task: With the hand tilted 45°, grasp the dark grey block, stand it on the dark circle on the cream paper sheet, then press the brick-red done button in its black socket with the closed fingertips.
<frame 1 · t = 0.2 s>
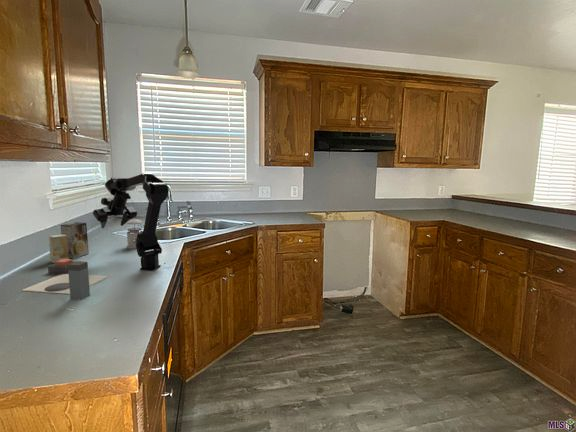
hand: (112, 226, 160), 15 cm above the worktop, tool tilted 35°, fingers open, 9 cm apart
coffee box: (76, 255, 162), on the worktop
button socket: (64, 270, 138), on the worktop
done button: (64, 263, 138), point 3 cm above the worktop, slide at 0.0 cm
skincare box: (60, 261, 152), on the worktop
dark grey block: (80, 297, 112), on the worktop
paper sheet: (67, 283, 124), on the worktop
french press: (136, 246, 183), on the worktop
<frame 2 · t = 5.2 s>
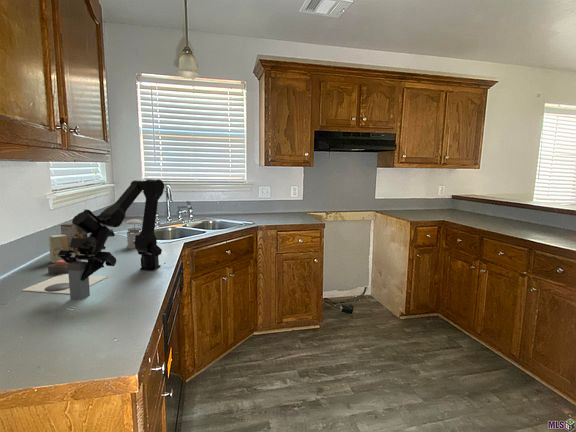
hand: (75, 279, 109), 7 cm above the worktop, tool tilted 45°, fingers closed on dark grey block, 4 cm apart
dark grey block: (80, 297, 112), on the worktop, touching gripper
everything else where it was.
when the fingers open (8 cm above the worktop, at t = 10.4 s): dark grey block stays where it is, resting on paper sheet.
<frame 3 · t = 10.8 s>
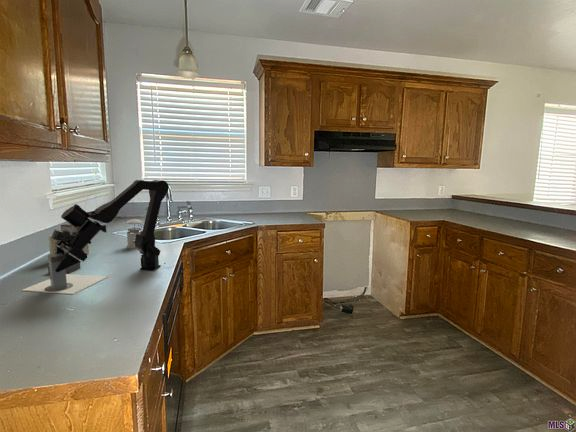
hand: (52, 268, 117), 8 cm above the worktop, tool tilted 45°, fingers open, 8 cm apart
dark grey block: (59, 287, 119), resting on paper sheet
everything else where it was.
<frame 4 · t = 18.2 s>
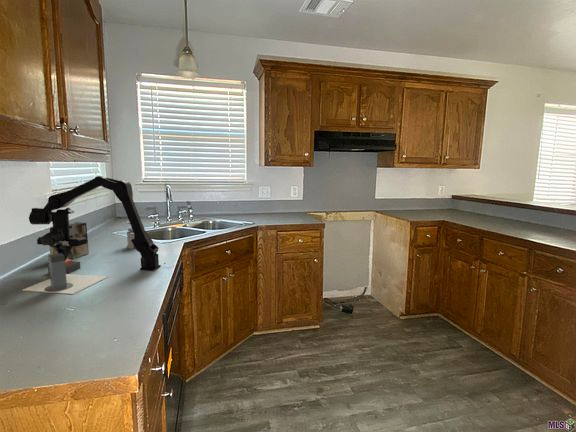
hand: (64, 260, 138), 4 cm above the worktop, tool pointing down, fingers closed, pressing on done button
done button: (64, 263, 138), point 3 cm above the worktop, slide at 0.0 cm, touching gripper
everything else where it was.
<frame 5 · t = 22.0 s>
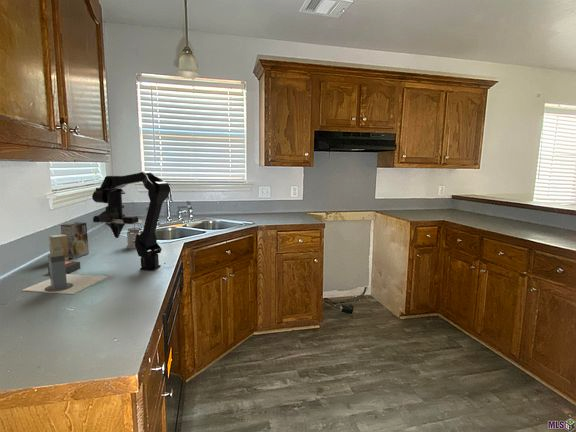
hand: (117, 237, 149), 12 cm above the worktop, tool pointing down, fingers closed
done button: (64, 266, 138), point 2 cm above the worktop, slide at 1.1 cm
everything else where it was.
at the end: dark grey block 0.1 cm from the target spot, resting on paper sheet; dark grey block tilted 0°; done button slide at 1.1 cm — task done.
